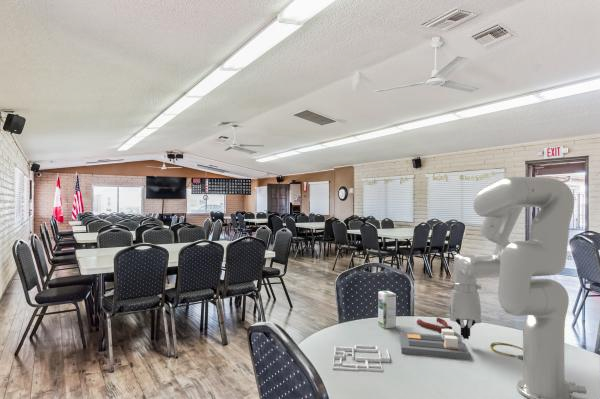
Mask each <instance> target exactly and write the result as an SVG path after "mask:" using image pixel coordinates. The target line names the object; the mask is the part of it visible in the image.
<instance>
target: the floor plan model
mask: <svg viewBox="0 0 600 399" xmlns="http://www.w3.org/2000/svg"><path fill="white" fill-rule="evenodd" d="M333 350H334V351H333V360H332V370H335V371H336V370H339V371H353V370H355V371H356V372H358V371H362V372H363V370H364V372H365V371H367V372H379V373H381V372H383V366H382V363H391V357H390V354H389V351H388V348H386V356H387V357H383V356H381V352H380V349H379V347H378V345H367V344H365V345H364V344H354V347H353V346H352V347H350V346H349V347H348V346H334V347H333ZM355 352H358V353H359V352H360V353H359V356H355V354H354V353H355ZM361 352H362V353H378V357H361V355H362V354H361ZM345 353H346V356H352V358H351V360H352V361H353V360H355V362H365V363H364V364H354V363H353V364H352V363H342V360H345ZM354 357H355V358H354ZM337 359H338V360H339V362H335V360H337ZM369 362H370V363H372V364H369ZM374 363H379V364H374ZM341 366H342V367H341ZM377 368H379V369H377ZM355 371H354V372H355Z"/></svg>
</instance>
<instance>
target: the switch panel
mask: <svg viewBox="0 0 600 399" xmlns="http://www.w3.org/2000/svg"><path fill="white" fill-rule="evenodd" d="M456 337H457V336H456ZM457 338H458V348H453V347H446V346H445V344H444V340H443V339H442V337H441V334H429V333H419V332H418V333H417V332H409V331H408V332H405V331H400V332H399V340H400V349H401V354H406V355H418V356H425V357H426V356H429V357H438V358H448V359H449V358H450V359H457V360H458V359H459V360H470V352H469V351H468V349H467V347H466V346H465V344H464V341H463V339H462V337H457Z"/></svg>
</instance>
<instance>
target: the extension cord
mask: <svg viewBox="0 0 600 399" xmlns="http://www.w3.org/2000/svg"><path fill="white" fill-rule="evenodd" d="M498 345H502V346H509V347H513V348H515V349H518V350H519V349H520V350H522V351H523V347H520V346H517V345H514V344H510V343H507V342H506V343H505V342H499V341H497V342H496V341H495V342H492V343H491V344H490V345H489V346H490V347H489V348H490V349H491V350H492V351H493V352H494V353H496V354H498V355H502V356H505V357H513V358H515V357H516V358H518V359H520V360H522V361H523V354H518V355H515V354H509V353H505V352H502V351H498V350H496V349H495V348H493V346H498Z"/></svg>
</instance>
